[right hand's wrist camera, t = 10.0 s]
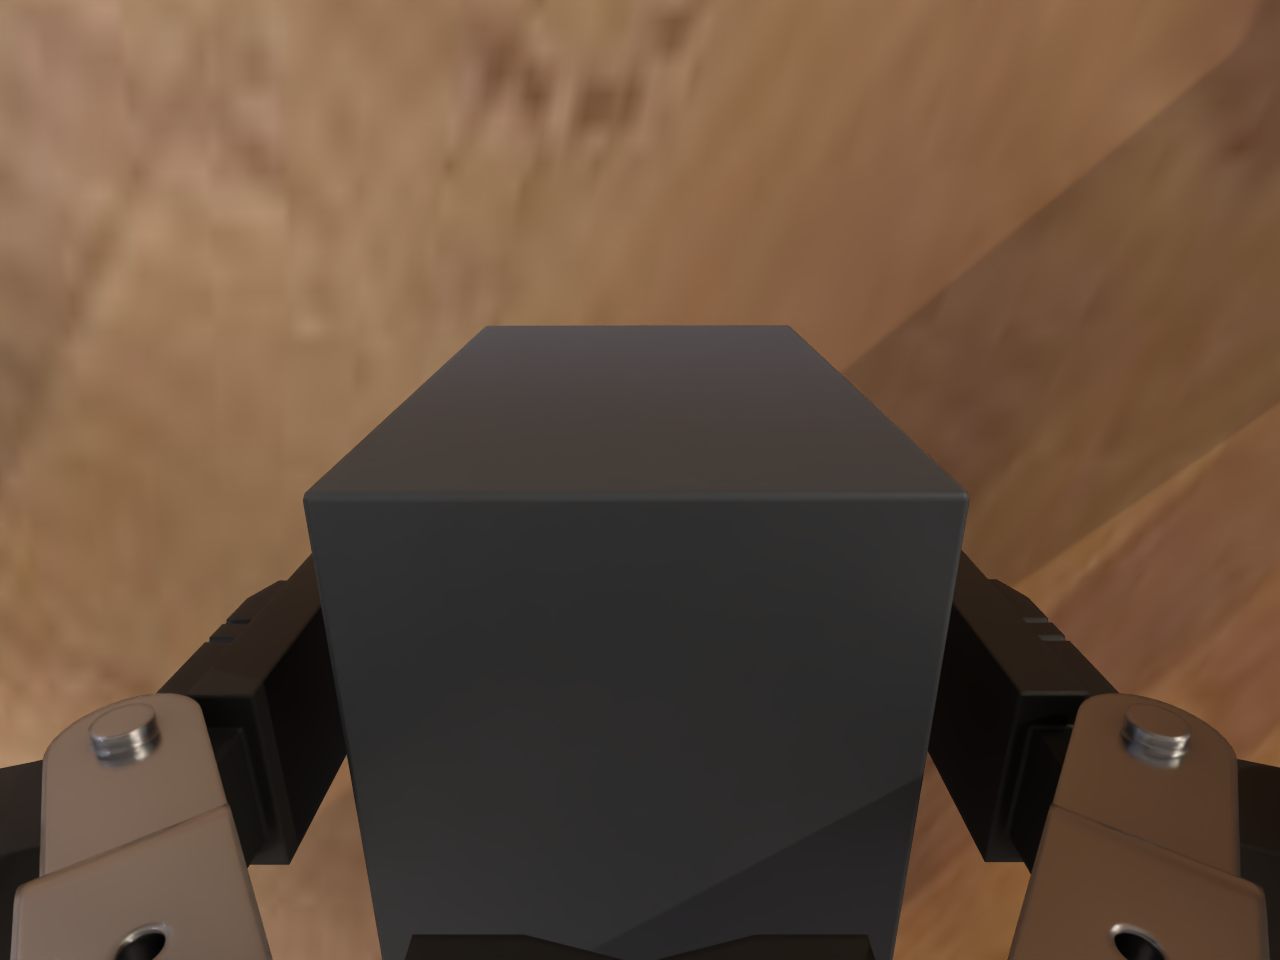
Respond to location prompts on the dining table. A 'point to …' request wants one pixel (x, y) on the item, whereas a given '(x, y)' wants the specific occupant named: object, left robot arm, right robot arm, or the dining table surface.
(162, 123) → the dining table surface
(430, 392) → the bar
